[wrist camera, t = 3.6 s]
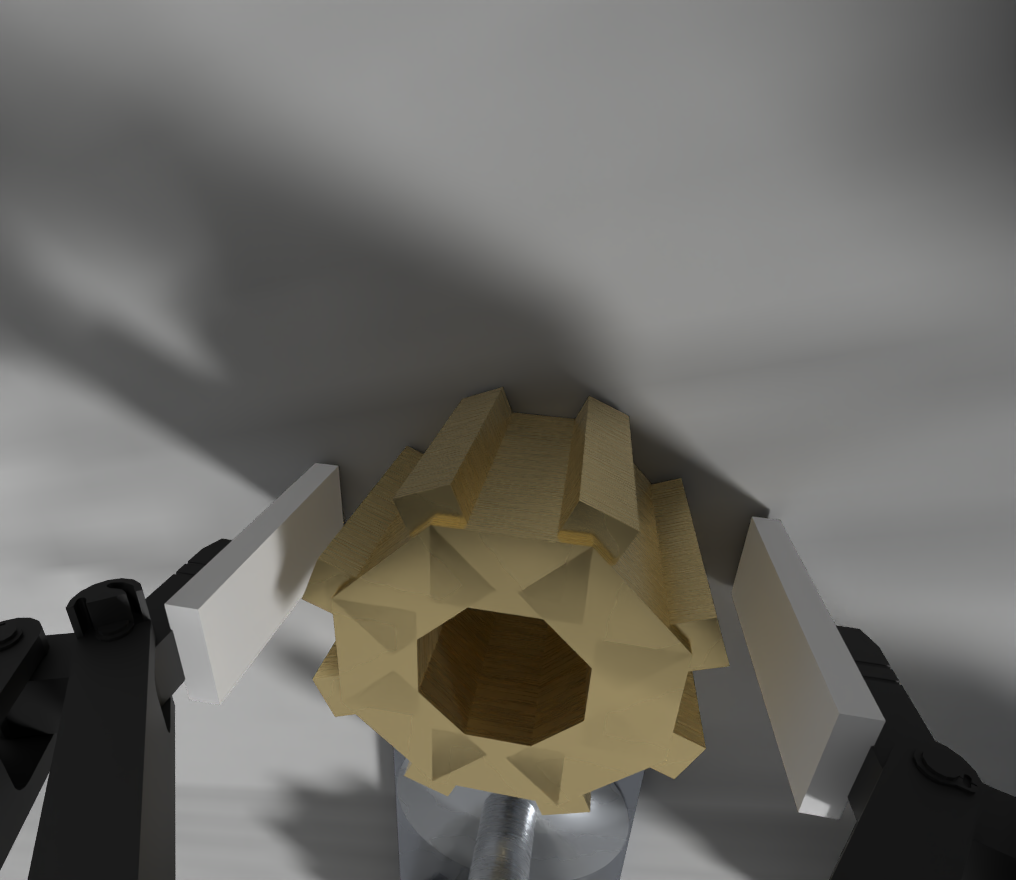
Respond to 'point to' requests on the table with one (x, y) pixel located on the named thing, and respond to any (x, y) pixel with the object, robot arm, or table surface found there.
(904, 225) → the table surface
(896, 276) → the table surface
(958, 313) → the table surface
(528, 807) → the gear plate
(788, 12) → the table surface
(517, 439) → the brass gear
